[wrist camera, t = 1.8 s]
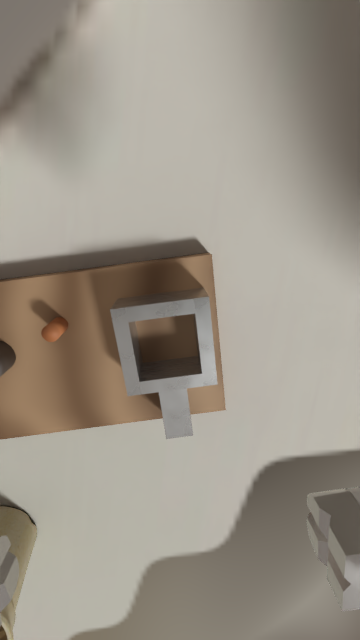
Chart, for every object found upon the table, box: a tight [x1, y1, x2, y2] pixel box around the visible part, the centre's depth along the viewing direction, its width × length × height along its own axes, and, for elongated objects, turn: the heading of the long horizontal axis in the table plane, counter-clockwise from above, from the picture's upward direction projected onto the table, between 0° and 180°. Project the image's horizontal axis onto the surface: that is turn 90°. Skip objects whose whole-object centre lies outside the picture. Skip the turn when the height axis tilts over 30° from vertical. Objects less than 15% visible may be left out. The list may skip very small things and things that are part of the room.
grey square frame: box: [110, 287, 218, 439], centre depth 22 cm, size 10×6×3 cm, turn 7°
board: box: [0, 253, 226, 439], centre depth 22 cm, size 22×13×6 cm, turn 97°
